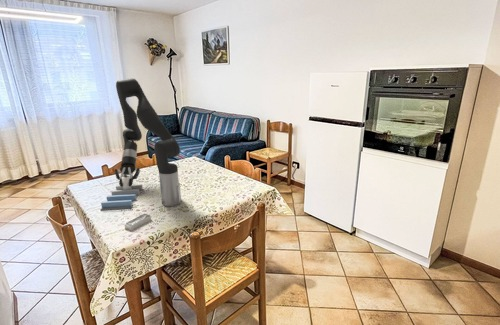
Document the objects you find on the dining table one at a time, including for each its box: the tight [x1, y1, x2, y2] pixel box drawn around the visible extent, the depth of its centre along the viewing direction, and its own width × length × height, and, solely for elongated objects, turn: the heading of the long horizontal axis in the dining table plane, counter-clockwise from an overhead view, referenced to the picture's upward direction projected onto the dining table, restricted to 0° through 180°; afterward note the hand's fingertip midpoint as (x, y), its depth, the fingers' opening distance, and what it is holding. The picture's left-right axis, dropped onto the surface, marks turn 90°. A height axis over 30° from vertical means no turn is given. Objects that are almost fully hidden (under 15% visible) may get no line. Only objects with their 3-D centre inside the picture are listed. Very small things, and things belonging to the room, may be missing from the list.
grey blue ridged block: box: [100, 183, 144, 212], centre depth 144 cm, size 14×26×4 cm, turn 7°
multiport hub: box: [123, 213, 152, 231], centre depth 119 cm, size 4×11×2 cm, turn 152°
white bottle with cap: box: [122, 175, 131, 190], centre depth 149 cm, size 4×4×10 cm
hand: (125, 185), depth 147 cm, fingers closed on white bottle with cap, 4 cm apart
